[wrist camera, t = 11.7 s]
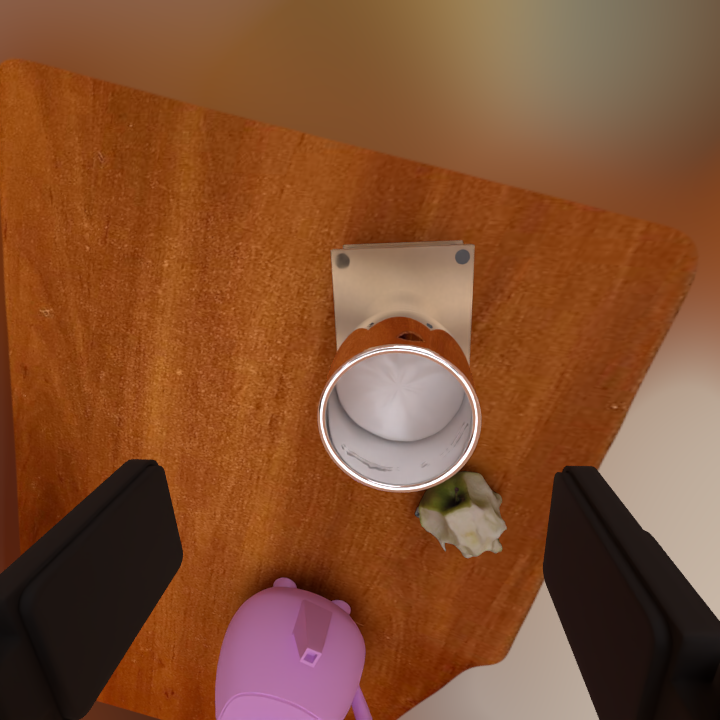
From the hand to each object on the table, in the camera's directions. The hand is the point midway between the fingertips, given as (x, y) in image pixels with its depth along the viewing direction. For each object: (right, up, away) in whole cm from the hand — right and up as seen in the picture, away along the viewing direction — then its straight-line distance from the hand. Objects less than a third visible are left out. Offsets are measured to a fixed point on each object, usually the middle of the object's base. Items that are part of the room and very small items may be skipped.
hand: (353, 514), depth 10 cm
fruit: (+11, -11, +35) cm, 39 cm away
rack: (+4, +9, +29) cm, 31 cm away
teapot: (-5, -28, +43) cm, 52 cm away
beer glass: (+3, +6, +21) cm, 22 cm away
